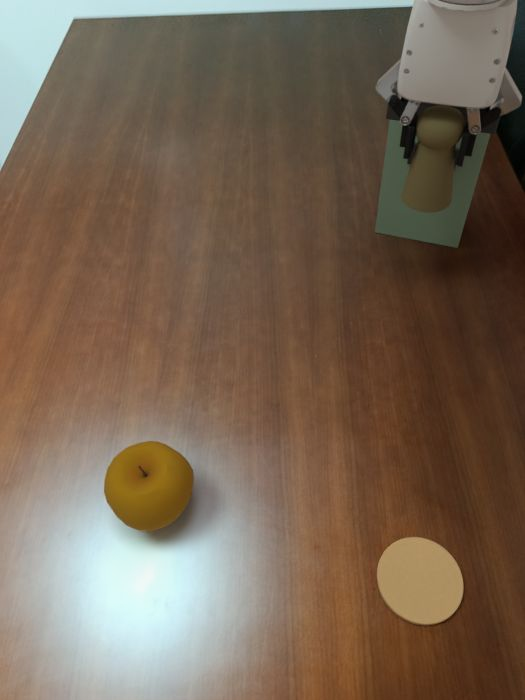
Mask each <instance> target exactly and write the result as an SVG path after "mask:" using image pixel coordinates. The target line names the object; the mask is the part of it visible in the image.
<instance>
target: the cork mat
mask: <svg viewBox="0 0 525 700" xmlns="http://www.w3.org/2000/svg"><path fill="white" fill-rule="evenodd" d="M376 567H377V568H376V584H377V589H378V592H379V595H380V596H381V599H382V600H383V602H384V603H385V606H387V608H388V609H389V610H390V611H391V612H392V613H393V614H395V616H397V617H398V618H400V619H401V620H403V621H405V622H408V623H409V624H413V625H415V626H424V627H425V626H426V627H428V626H435V625H438V624H439V625H440V624H441V623H443V622H445V621H447V620H449V619H450V618H451V617H452V616H453V615H454V614H455V612H456V611H457V610H458V608H459V607H460V605H461V602H462V600H463V596H464V590H465V589H464V587H465V586H464V578H463V575H462V571H461V568H460V566H459V565H458V563H457V561H456V559H455V558H454V557H453V555H452V554H451V553H450V552H449V551H448V550H447V549H446V548H445V547H443V546H442V545H441V544H439V543H437V542H435V541H433V540H430V539H428V538H424V537H421V536H420V537H419V536H407V537H404V538H400V539H398V540H396V541H394V542H392V543H391V544H390V545H388V546H387V547H386V548H385V550H384V551H383V553H382V554H381V556H380V558H379V560H378V564H377V566H376Z"/></svg>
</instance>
